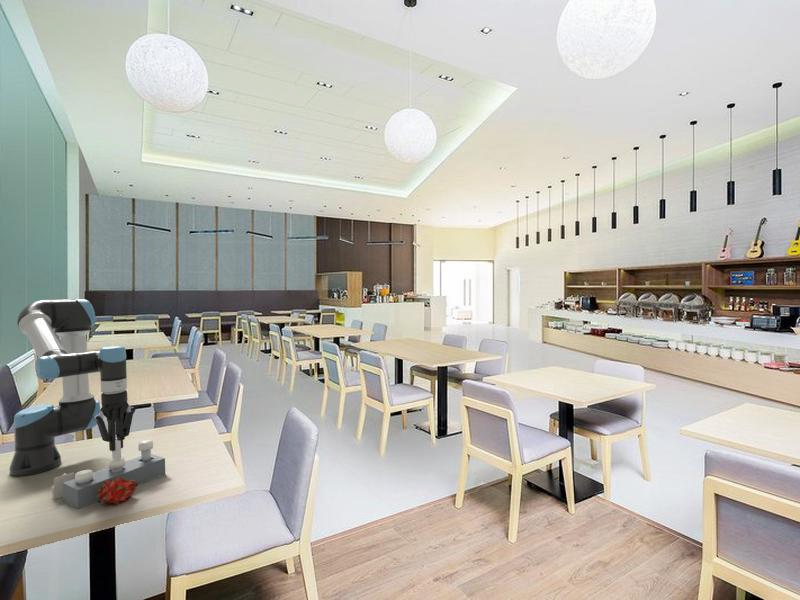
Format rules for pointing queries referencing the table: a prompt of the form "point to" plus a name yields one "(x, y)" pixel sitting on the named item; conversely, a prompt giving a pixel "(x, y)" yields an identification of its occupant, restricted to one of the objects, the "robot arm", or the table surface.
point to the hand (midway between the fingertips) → (116, 458)
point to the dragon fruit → (116, 490)
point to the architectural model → (60, 484)
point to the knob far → (145, 449)
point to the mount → (130, 471)
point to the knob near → (83, 476)
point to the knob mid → (116, 464)
